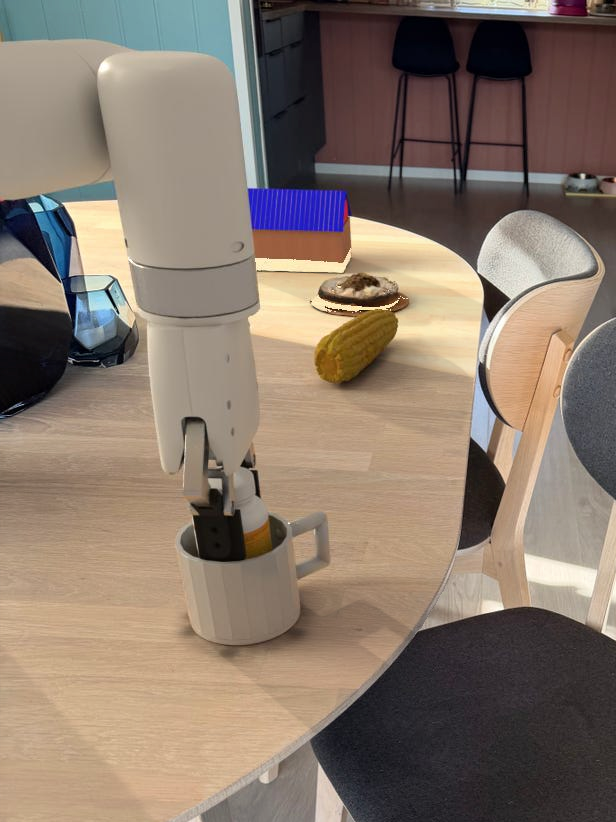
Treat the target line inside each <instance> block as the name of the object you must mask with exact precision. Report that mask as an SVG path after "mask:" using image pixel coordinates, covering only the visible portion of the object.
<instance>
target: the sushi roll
mask: <svg viewBox="0 0 616 822" xmlns="http://www.w3.org/2000/svg"><path fill="white" fill-rule="evenodd" d="M388 278H389V277H388V276H387V277H386V276H377V275H375V276H374V275H370V274H367V273H365V272H361V271H360V272H357V273H353V274H351V275H350V276H349V275H345V276H341V277H339V276H337V277H331V278H328V279H326V280H325V281H323V282H322V283H321V284H320V286H319V288H318V291H317V295H319V297H320V298H321V299H323V300H325V301H328V302H331V303H335V304H341V305H351V306H362V307H380V306H385V305H389V304H392V303H394V302H395V301H397V300H399V301H398V303H396V304H395V305H394V306H392V307H390V308H386V309H388V311H390V309H391V311H390V312H395V311H398V310H401V309H404V308H405V307H406V306H407V305H408V304H409V303H410V298H409V297H408V296H407V295H406V294H404V293H402V292H400V291H399V284H398V283H397V282H396V280H393V281H392V280H389V279H388ZM337 286H341V288H338V287H337ZM332 290H334V291H332ZM388 290H389V291H388ZM400 296H401V297H400ZM402 297H403V298H405V299H403V298H402ZM398 298H400V299H398ZM406 298H408V299H406ZM310 302H312V301H311V299H310V301H309V303H310ZM325 308H327V309H330V310H332V311H331V312H329V311H328V310H327V312H328V313H327V314H331V315H338V316H346V317H348V316H349V317H350V316H351V317H357V316H360V315H361V314H362V313H365V312H367V311H371V310H359V311H357V312H355V311H347V310H342V309H339V310H338V309H332V308H328V307H326V306H325ZM334 311H336V312H334ZM360 311H361V312H360ZM352 312H353V313H352Z"/></svg>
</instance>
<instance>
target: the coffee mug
mask: <svg viewBox="0 0 616 822" xmlns="http://www.w3.org/2000/svg"><path fill="white" fill-rule="evenodd" d="M268 517H269V526H270V535H271V543H272V551H271V552H269V553H266V554H264V555H261V556H259V557H256V558H251V559H247V560H242V561H231V562H217V561H207V560H203V559H200V558H199V556H198V551H197V544H196V538H195V533H194V527H193V520H190V522H188V523H186V524H185V525H183V526H182V528H181V529H180V530H179V531H178V532H177V533H176V534H175V539H174V547H175V548H174V549H175V554H176V558H177V565H178V569H179V574H180V580H181V585H182V589H183V595H184V600H185V604H186V605H185V606H186V610H187V615H188V619H189V622H190V626H191V628H192V630H193V631H194V633H196V634H197V635H198V636H199V637H201V638H202V639H204V640H206V641H208V642H212V643H215V644H220V645H226V646H246V645H247V646H249V645H254V644H259V643H262V642H267V641H269V640H272V639H274V638H277V637H279V636H281V635H283V634H285V633H286V632H288V631H289V630H290V629H291V628H292V627H294V625H295V624H296V623H297V622H298V620H299V618H300V615H301V611H302V610H301V598H300V590H299V587H300V586H299V580H302V579H303V578H305V577H308V576H311V575H312V574H315V573H317V572H319V571H321V570H325V569H326V568H328V567H329V566H330V565H331V564H332V557H331V556H332V555H331V546H330V533H329V531H330V530H329V521H328V516H327V513H325V512H324V511H321V510H318V511H317V510H316V511H315V512H314V511H313V512H312V513H310V514H307V515H303V516H302V517H299V518H297V519H294V520H292V521H288V520H286V519H285V518H283V517H282V516H280V515H279V514H277V513H273V512H270V511H268ZM308 532H312V533H313V543H314V544H313V545H314V555H315V556H311V557H309V558H307V559H304V560H303V561H301V562H298V563H297V562H296V561H297V560H296V553H295V543H294V538H295V537H299V536H302V535H304V534H305V533H308Z"/></svg>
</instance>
